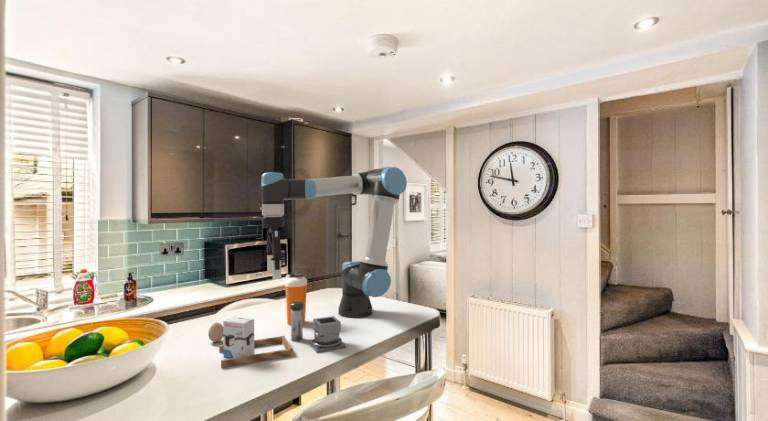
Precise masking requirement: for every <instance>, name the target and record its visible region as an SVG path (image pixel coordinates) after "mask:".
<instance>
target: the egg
mask: <svg viewBox="0 0 768 421" xmlns="http://www.w3.org/2000/svg"><path fill="white" fill-rule="evenodd" d="M207 334H208V338H209V340H210V341H211V342H213V343H218V342H220V341H222V339H223V324H221V323H220V322H219V321H217V322H214V323H212V324H211V326H210V327H209V330H208V333H207Z"/></svg>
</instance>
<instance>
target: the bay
mask: <svg viewBox="0 0 768 421" xmlns="http://www.w3.org/2000/svg"><path fill="white" fill-rule="evenodd" d="M277 344H282V345H283V347H284V349H280V350H274V351H268V352H262V353H254V354H255V355H249V356H242V357H236V358H225V359H220V368H221V369H223V368H228V367H235V366H240V365H246V364H254V363H257V362H264V361H265V362H266V361H269V360H277V359H280V358H281V359H282V358H287V357H293V356H294V354H293V353H294V349H293V347H292V346H291V344H290V343H289V341H288V339H287V337H286V336H285V335H279V336H275V337H274V336H273V337H268V338H267V337H266V338H260V339H254V348H256V347H263V346H264V347H265V346H270V345H277ZM218 347H219V349H218V350H219V351H218V352H219V353H223V344H220V345H218Z"/></svg>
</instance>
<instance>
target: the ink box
mask: <svg viewBox="0 0 768 421" xmlns="http://www.w3.org/2000/svg"><path fill="white" fill-rule="evenodd" d="M222 323H223V324H222V326H223V338H222V339H223V344H222V345H223V352H222V353H223V355H222V356H223V358H225V359H230V358H236V357H242V356H249V355H255V354H256V353H255V347H254V340H255V319H254V318H251V317H243V316H232V317H229V318H227V319H225V320H223V321H222Z"/></svg>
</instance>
